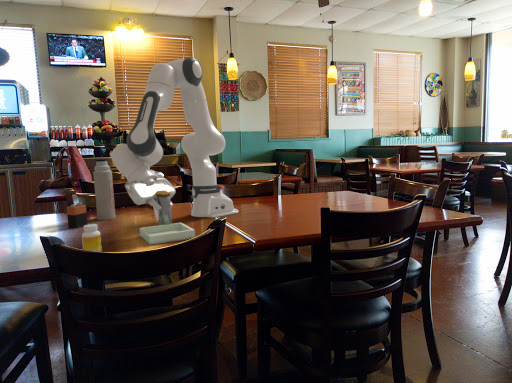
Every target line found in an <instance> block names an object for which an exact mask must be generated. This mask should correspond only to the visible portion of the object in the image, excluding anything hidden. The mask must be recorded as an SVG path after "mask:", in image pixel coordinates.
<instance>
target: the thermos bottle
mask: <svg viewBox="0 0 512 383" xmlns="http://www.w3.org/2000/svg"><path fill="white" fill-rule="evenodd" d="M95 162H96V164H95V166H94V171H93V173H92V174H93V185H94V196H95V207H96V208H95V209H96V218H97V220H99V221H101V220H102V221H107V220H108V221H109V220H113V219H115V218H116V208H115V206H116V205H115V195H114V187H113V186H114V183H113V181H114V180H113V171H112V170H110V169H111V167H110V165H108V164H109V163H108V159H105V158H101V159H100V158H99V159H95Z"/></svg>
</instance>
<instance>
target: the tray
mask: <svg viewBox="0 0 512 383" xmlns="http://www.w3.org/2000/svg"><path fill="white" fill-rule="evenodd" d="M139 236H140V237H141V238H142V239H143V240H144V242H146V243H147V244H148V245H149V246H153V245H159V244H160V245H161V244H166V243H172V242H178V241H185V240H191V239H190V238H193V237H195V238H196V230H195V229H194V228H192V227H190V226H189V225H187V224H185V223H183V222H176V223H175V222H172V224H169V225H152V226H146V227H145V226H143V227H139ZM193 239H194V238H193Z"/></svg>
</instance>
